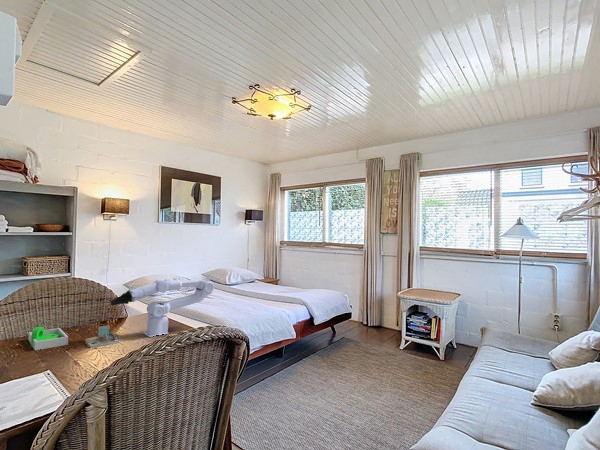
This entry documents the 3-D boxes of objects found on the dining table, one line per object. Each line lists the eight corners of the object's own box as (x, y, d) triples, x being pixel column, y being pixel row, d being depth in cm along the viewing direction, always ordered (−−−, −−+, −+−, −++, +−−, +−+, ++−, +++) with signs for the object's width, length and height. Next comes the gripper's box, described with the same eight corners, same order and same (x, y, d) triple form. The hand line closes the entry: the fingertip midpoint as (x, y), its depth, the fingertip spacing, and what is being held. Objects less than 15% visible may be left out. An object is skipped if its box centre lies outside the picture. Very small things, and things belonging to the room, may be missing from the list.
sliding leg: (106, 335, 155) (106, 325, 155) (111, 339, 150) (111, 329, 151) (98, 337, 153) (98, 326, 153) (102, 341, 148) (103, 330, 148)
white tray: (59, 335, 157) (59, 327, 157) (67, 344, 145) (68, 336, 145) (28, 340, 149) (28, 332, 149) (34, 350, 137) (35, 342, 137)
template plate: (115, 339, 154) (115, 337, 154) (118, 342, 151) (119, 340, 151) (87, 345, 146) (87, 342, 146) (90, 348, 142) (90, 345, 142)
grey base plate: (115, 337, 158) (116, 331, 158) (120, 340, 153) (121, 334, 154) (84, 342, 149) (85, 336, 149) (89, 346, 144) (89, 339, 144)
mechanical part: (46, 347, 141) (46, 329, 141) (31, 347, 141) (31, 329, 141) (62, 337, 153) (63, 321, 153) (49, 338, 153) (49, 321, 153)
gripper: (136, 286, 167) (107, 296, 158) (143, 282, 156) (112, 292, 147) (140, 299, 166) (111, 310, 157) (147, 296, 156) (117, 307, 147)
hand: (112, 302), depth 152 cm, fingers open, 7 cm apart
